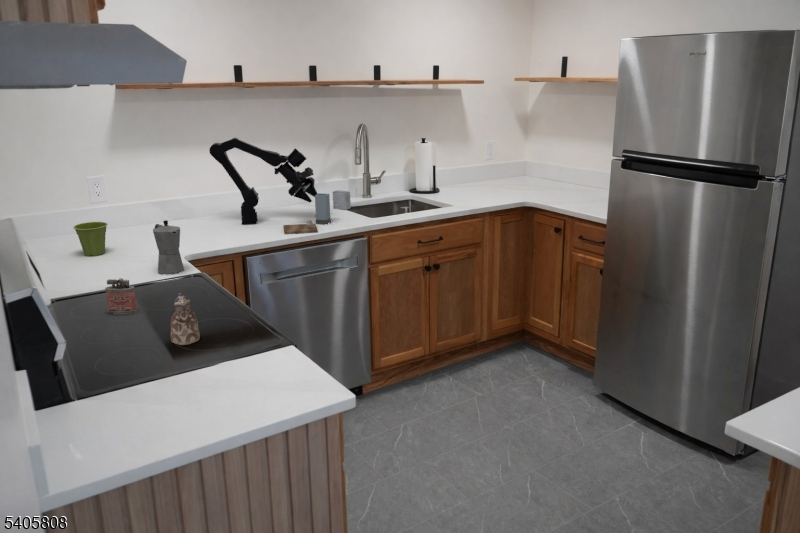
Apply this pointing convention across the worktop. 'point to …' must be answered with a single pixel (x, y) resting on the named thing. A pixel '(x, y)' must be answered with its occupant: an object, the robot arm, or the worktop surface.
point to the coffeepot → (168, 248)
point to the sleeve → (322, 208)
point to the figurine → (184, 322)
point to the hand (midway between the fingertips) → (314, 199)
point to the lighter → (120, 297)
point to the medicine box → (341, 200)
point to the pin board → (300, 228)
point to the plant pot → (92, 237)
